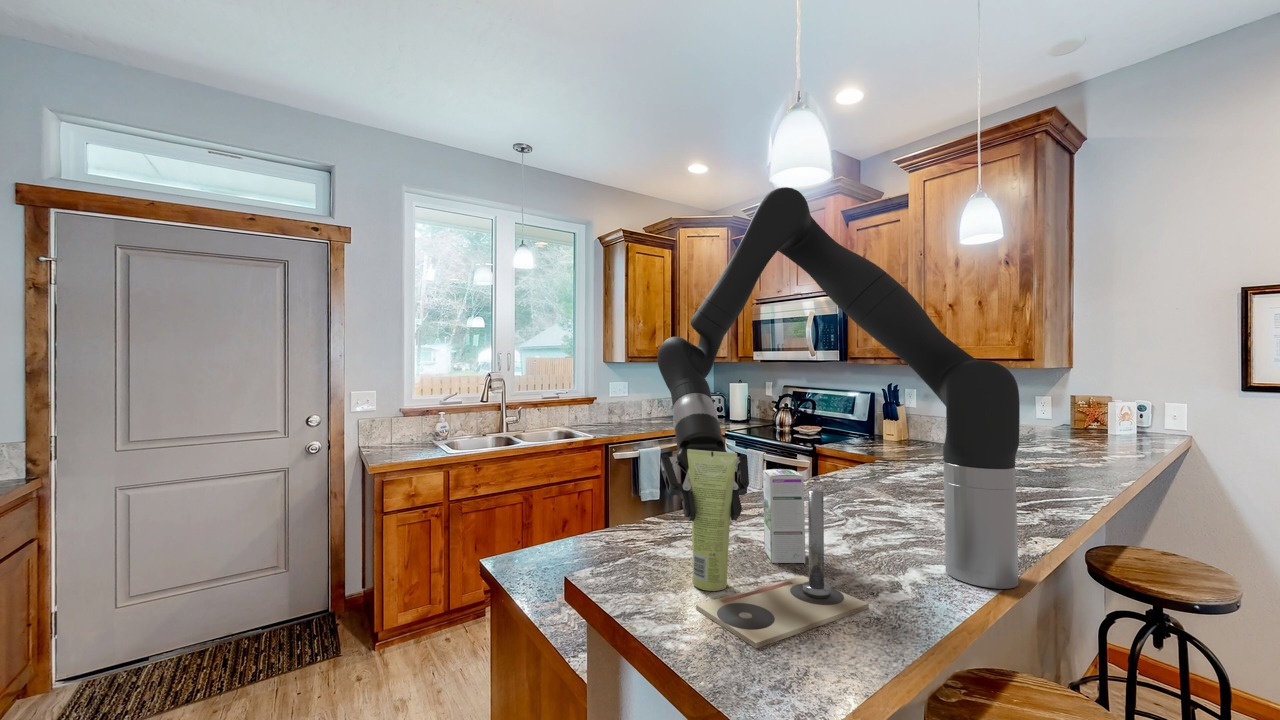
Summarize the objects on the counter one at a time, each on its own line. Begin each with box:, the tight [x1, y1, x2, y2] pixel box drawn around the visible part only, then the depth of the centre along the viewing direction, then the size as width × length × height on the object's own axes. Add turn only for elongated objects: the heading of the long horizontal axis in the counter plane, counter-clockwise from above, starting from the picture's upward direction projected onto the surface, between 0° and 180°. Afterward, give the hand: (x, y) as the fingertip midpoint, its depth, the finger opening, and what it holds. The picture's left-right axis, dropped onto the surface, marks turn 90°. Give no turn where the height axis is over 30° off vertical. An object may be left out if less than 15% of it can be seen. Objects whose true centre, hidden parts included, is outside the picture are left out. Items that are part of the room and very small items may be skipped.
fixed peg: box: [803, 488, 832, 599], centre depth 69 cm, size 4×4×14 cm
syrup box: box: [762, 468, 806, 565], centre depth 84 cm, size 6×6×14 cm
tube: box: [687, 449, 738, 592], centre depth 73 cm, size 6×5×20 cm
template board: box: [695, 575, 870, 649], centre depth 65 cm, size 20×11×1 cm, turn 121°
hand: (714, 517), depth 71 cm, fingers closed on tube, 5 cm apart
